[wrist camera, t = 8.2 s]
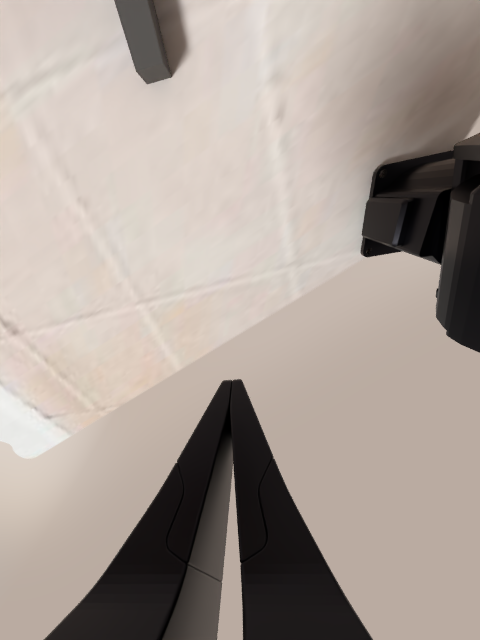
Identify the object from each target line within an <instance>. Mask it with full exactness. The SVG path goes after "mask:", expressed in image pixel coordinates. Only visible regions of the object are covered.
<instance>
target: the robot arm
mask: <svg viewBox="0 0 480 640" xmlns="http://www.w3.org/2000/svg"><path fill="white" fill-rule="evenodd" d="M382 170H383V171H384V174H383V176H382V177H381V178H380V176H379V174H380V172H381V171H382ZM362 236H363V240H362V246H361V254H362V255H363V256H365V257H371V256H377V255H383V254H389V253H395V252H401V251H404V252H407V253H409V254H412V255H415V256H418V257H421V258H423V259H427V260H429V261H432V262H435V263H438V264H440V265H441V273H440V280H439V288H438V289H437V291H436V298H437V304H436V318H437V319H438V320H439V322H440V323H441V325H442V326H443V327H444V328H445V329H446V330H447V332H446V335H447V336H448V337H450V338H451V339H453V340H455V341H456V342H458V343H459V344H461V345H463V346H466V347H468V348H470V349H473V350H475V351H477V352H480V133H479V134H476V135H474V136H472V137H470V138H468V139H466V140H464V141H461V142H459V143H457V144H455V145H454V150H453V151H448V152H443V153H439V154H434V155H429V156H425V157H420V158H415V159H411V160H406V161H401V162H396V163H392V164H387V165H382V166H380V167H378V168H377V169H376V170H375V171H374V173H373V177H372V184H371V190H370V196H369V200H368V201H367V203H366V210H365V216H364V223H363V229H362ZM369 248H370V250H369V252H368V253H366V251H367V250H368V249H369ZM233 464H234V478H235V493H236V508H237V523H238V536H239V551H240V562H241V582H242V602H243V603H242V605H243V640H373V639H372V638H371V636H370V634H369V633H368V631H367V630H366V628H365V627H364V625H363V623H362V622H361V620H360V619H359V617H358V616H357V614H356V612H355V611H354V609H353V607H352V606H351V604H350V603H349V601H348V599H347V598H346V596H345V594H344V593H343V591H342V589H341V587H340V586H339V584H338V582H337V581H336V579H335V577H334V575H333V573H332V572H331V570H330V568H329V566H328V565H327V563H326V561H325V559H324V557H323V555H322V553H321V551H320V550H319V548H318V546H317V544H316V542H315V540H314V539H313V537H312V535H311V533H310V531H309V529H308V527H307V526H306V524H305V522H304V520H303V518H302V516H301V514H300V512H299V511H298V509H297V507H296V505H295V503H294V501H293V499H292V497H291V495H290V493H289V492H288V489H287V487H286V485H285V482H284V480H283V478H282V476H281V473H280V471H279V469H278V466H277V464H276V461H275V459H273V454H272V452H271V450H270V447H269V445H268V442H267V440H266V438H265V435H264V433H263V430H262V428H261V425H260V423H259V421H258V418H257V416H256V413H255V411H254V408H253V406H252V404H251V401H250V399H249V396H248V394H247V392H246V389H245V387H244V384H243V382H242V380H241V379H237V380H233V381H232V380H224V381H222V383H221V385H220V386H219V388H218V390H217V392H216V393H215V395H214V397H213V399H212V400H211V402H210V404H209V406H208V407H207V410H206V411H205V413H204V415H203V416H202V418H201V420H200V421H199V423H198V425H197V427H196V429H195V430H194V432H193V434H192V436H191V437H190V439H189V441H188V443H187V444H186V446H185V448H184V450H183V451H182V453H181V455H180V457H179V458H178V460H177V463H176V464H175V465H174V467H173V469H172V470H171V472H170V474H169V476H168V478H167V479H166V481H165V483H164V484H163V486H162V487H161V489H160V491H159V492H158V494H157V496H156V497H155V499H154V500H153V502H152V503H151V505H150V506H149V508H148V509H147V511H146V512H145V514H144V515H143V517H142V518H141V520H140V521H139V523H138V524H137V526H136V527H135V528H134V530H133V531H132V533H131V534H130V536H129V537H128V539H127V540H126V542H125V543H124V544H123V546H122V548H121V549H120V550H119V552H118V553H117V555H116V556H115V558H114V559H113V561H112V562H111V564H110V565H109V566H108V568H107V569H106V571H105V572H104V573H103V575H102V576H101V577H100V579H99V580H98V581H97V583H96V584H95V585H94V587H93V588H92V589H91V590H90V591H89V593H88V594H87V595H86V596H85V597H84V598H83V599H82V601H81V602H80V603H79V604H78V605H77V606H76V607H75V608H74V609H73V610H72V611H71V612H70V613H69V614H68V615H67V616H66V617H65V618H64V619H63V621H62V622H61V623H60V624H59V625H58V626H57V627H56V628H55V629H54V630H53V631H52V632H51V633H50V634H49V635H48V636H47V637H46V638H45V639H44V640H217V633H218V632H217V631H218V621H219V610H220V599H221V588H222V578H223V567H224V556H225V545H226V533H227V523H228V511H229V501H230V489H231V479H232V467H233Z"/></svg>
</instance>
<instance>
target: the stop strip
mask: <svg viewBox="0 0 480 640" xmlns="http://www.w3.org/2000/svg"><path fill="white" fill-rule="evenodd" d="M114 1H115V4H116V7H117V11H118V14H119V17H120V20H121V24H122V27H123V30H124V33H125V37H126V40H127V43H128V47H129V50H130V53H131V56H132V60H133V63H134V66H135V69H136V72H137V73H138V74H139V75H140V76H141V78H142V79H143V80H144V81H145V82H146V83H147V84H150V83H153V82H157V81H160V80H164V79H167V78H171V73H170V69H169V65H168V61H167V57H166V52H165V48H164V44H163V40H162V36H161V32H160V28H159V24H158V20H157V16H156V12H155V7H154V3H153V0H114Z"/></svg>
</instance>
